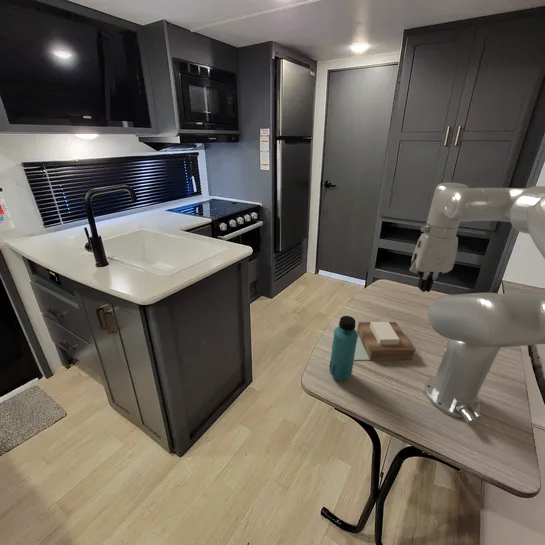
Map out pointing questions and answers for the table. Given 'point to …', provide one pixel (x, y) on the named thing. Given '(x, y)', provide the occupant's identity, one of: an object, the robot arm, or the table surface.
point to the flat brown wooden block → (385, 351)
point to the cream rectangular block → (384, 333)
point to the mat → (360, 351)
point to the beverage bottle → (343, 348)
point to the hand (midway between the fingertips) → (423, 289)
